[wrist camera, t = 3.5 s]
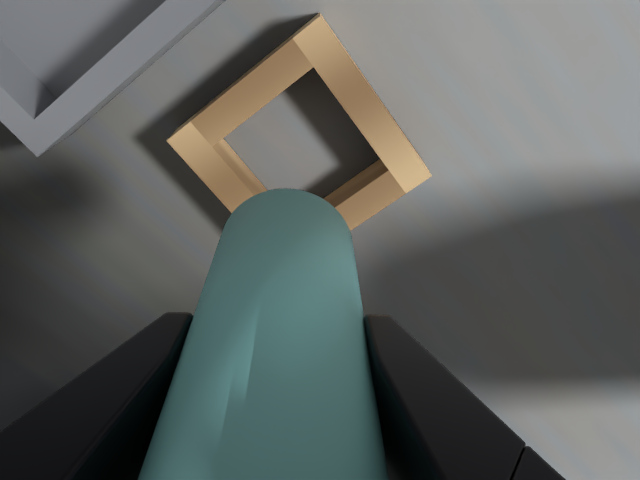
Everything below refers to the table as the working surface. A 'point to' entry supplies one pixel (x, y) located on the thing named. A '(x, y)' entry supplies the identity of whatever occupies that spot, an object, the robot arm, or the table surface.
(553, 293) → the table surface
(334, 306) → the dowel
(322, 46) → the collar
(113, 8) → the tray
